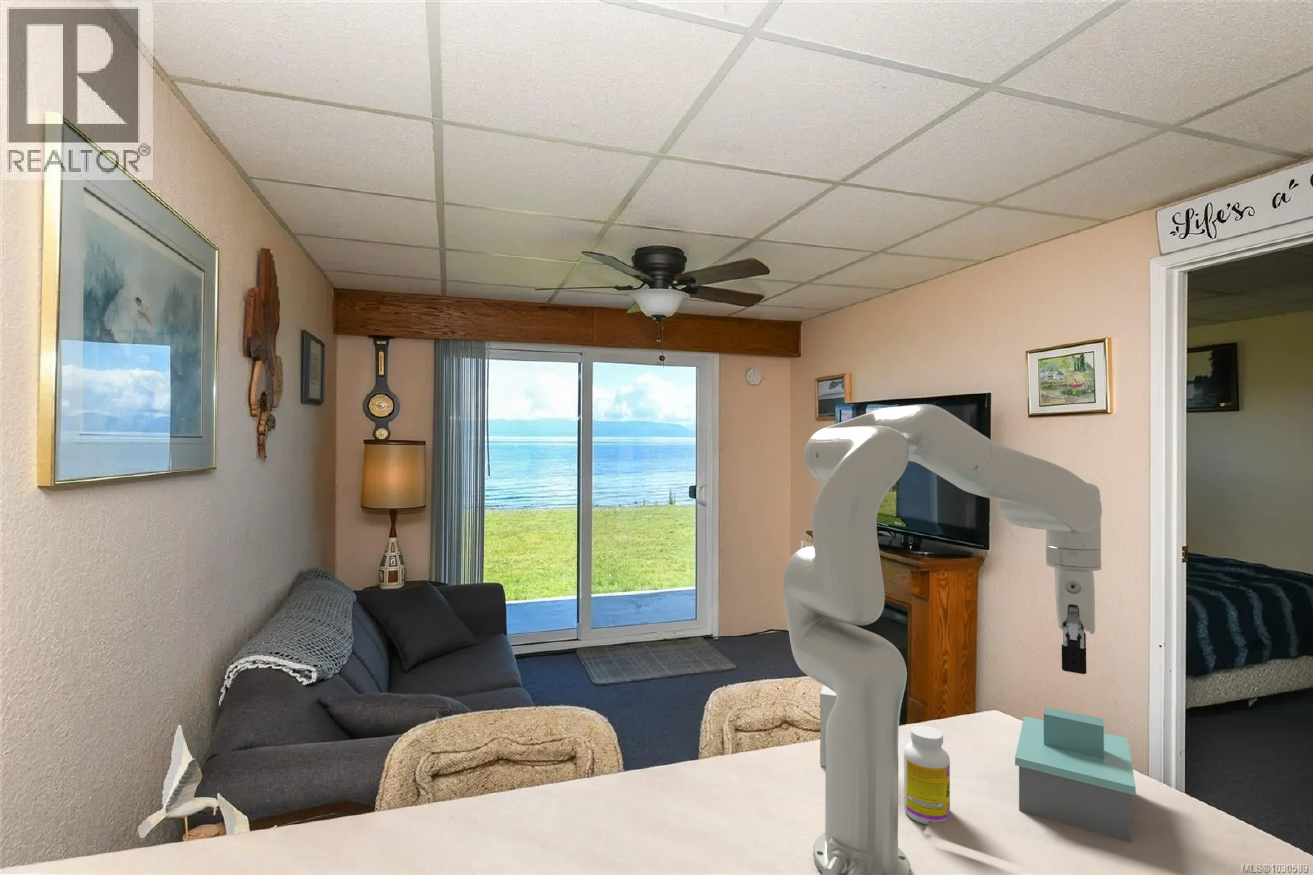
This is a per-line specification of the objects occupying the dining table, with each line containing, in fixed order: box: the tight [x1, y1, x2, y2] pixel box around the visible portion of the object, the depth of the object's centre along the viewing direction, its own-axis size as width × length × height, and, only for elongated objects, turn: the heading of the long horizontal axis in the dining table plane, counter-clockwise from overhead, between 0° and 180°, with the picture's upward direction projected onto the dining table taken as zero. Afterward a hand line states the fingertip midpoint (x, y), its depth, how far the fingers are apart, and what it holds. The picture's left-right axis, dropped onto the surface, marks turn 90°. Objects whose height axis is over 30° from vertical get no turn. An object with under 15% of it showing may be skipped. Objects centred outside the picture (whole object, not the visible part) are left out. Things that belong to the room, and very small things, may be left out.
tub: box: [1018, 766, 1132, 843], centre depth 102 cm, size 18×14×8 cm
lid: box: [1014, 706, 1137, 796], centre depth 102 cm, size 19×15×8 cm
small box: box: [819, 684, 837, 767], centre depth 116 cm, size 8×6×13 cm
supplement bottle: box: [903, 725, 951, 825], centre depth 98 cm, size 7×7×13 cm
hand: (1074, 663), depth 102 cm, fingers open, 9 cm apart
